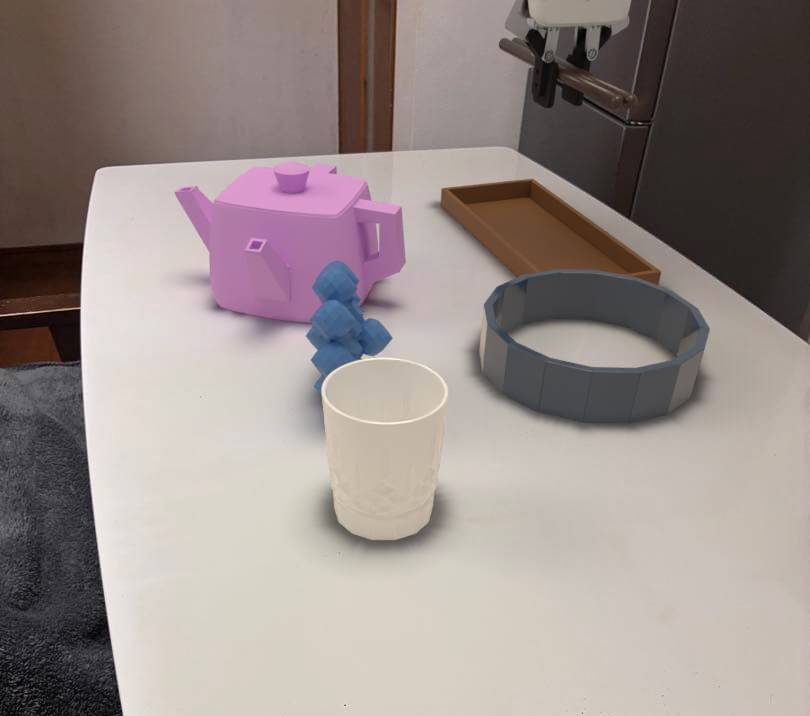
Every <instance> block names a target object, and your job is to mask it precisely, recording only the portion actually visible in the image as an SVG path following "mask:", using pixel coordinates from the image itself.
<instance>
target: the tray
mask: <svg viewBox="0 0 810 716" xmlns="http://www.w3.org/2000/svg"><path fill="white" fill-rule="evenodd" d="M440 189H441V191H440V207H441V208H442V209H443V210H444V211H445V212H446V213H447V214H448V215H449V216H451V218H453V219H454V220H455V221H456V222H457V223H458V224H460V225H461V227H463V228H464V229H465V230H466V231H467V232H468V233H469V234H470V235H471V236H472V237H473V238H474V239H475V240H477V241H478V242H479V243H480V244H481V245H482V246H483V247H484V248H485V249H487V250H488V251H489V252H490V253H491V254H492V255H493V256H494V257H495V258H496V259H497V260H498V261H499V262H500V263H502V264H503V266H505V267H506V268H507V269H508V270H509V271H510V272H511V273H512V274H513V275H514V276H515V277H516V278H517V277H519V276H521V275H526V274H532V273H538V272H544V271H550V270H558V269H569V270H599V271H604V272H610V273H615V274H621V275H626V276H631V277H636V278H639V279H642V280H645V281H647V282H650V283H653V284H656V285H658V286H660V285H659V284H660V281H661V280H660V279H661V275H662V271H661V270H660V269H659V268H657V267H656V266H655V265H653V264H652V263H650V262H649V261H647V260H646V259H645V258H644V257H642V256H641V255H640V254H638V253H637V252H635V251H634V250H632V249H631V248H630V247H629V246H627V245H626V244H624V243H623V242H621V241H620V240H619V239H618V238H616V237H615V236H613V235H611V234H610V233H609V232H608V231H606V230H605V229H604V228H602V227H601V226H599V225H598V224H596V223H595V222H594V221H592V220H591V219H590V218H588V217H587V216H585V215H584V214H583V213H581V212H580V211H579V210H577V208H574V207H573V206H572V205H570V204H569V203H567V202H566V201H565V200H564V199H562V198H561V197H559V196H558V195H556V194H555V193H553V192H552V191H551V190H550V189H548V188H547V187H545V186H544V185H543V184H541V182H538V181H537V180H535V179H534V178H523V179H516V180H507V181H497V182H487V183H478V184H467V185H459V186H450V187H441V188H440Z"/></svg>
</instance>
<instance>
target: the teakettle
mask: <svg viewBox="0 0 810 716" xmlns="http://www.w3.org/2000/svg"><path fill="white" fill-rule="evenodd" d="M337 170H338V169H337V165H329V164H321V163H314V164H313V165H312V166H308V165H307V164H304V163H301V162H295V161H287V162H282V163H279V164H276V165H275V166H273V167H270V166H254V167H253V166H252V167H251V168H249V169H248V170H246V171H244V172H243V173H242V174H241V175H239V176H238V177H237V178H235V179H234V180H233V181H232V182H231V183H230V184H228V186H226V187H225V188H224V189H223V190H222V191H221V192H220V193H219V194H218V195H217V196H216V197H215V198H214V199H213V201H211V199H209V197H207V196H206V195H205V194H204V193H203V192H202V191H201V190H200V189H199V186H198V185H191V186H181V187H180V188H178V189H177V190H175V191H174V195H175V197H176V199H177V201H178V203H179V204H180V205H181V207H182V209H183V211H184V212H185V214H186V216H187V218H188V219H189V221H190V223H191V224H192V226H193V228H194V229H195V231H196V232H197V234H198V236H199V237H200V239H201V241H202V243H203V244H204V246H205V248H206V249H207V251H208V254H209V255H208V257H209V259H208V260H209V278H210V286H211V291H212V294H213V297H214V298H215V301H216V303H217V305H218V307H220V308H221V309H225V310H227V311H232V312H235V313H240V314H244V315H245V314H246V315H250V316H255V317H261V318H266V319H271V320H272V319H273V320H279V321H286V322H295V323H303V324H304V323H305V324H312V322H311V321H310V318H311V317H312V316H313V314H314V313H315V312H316V311H317V309H318V308H319V307H320V306H321V305H322V303H321V301H320V300H319V297H318V296H317V294H316V293H315V292H314V290H313V289H312V286H313V285H314V283H315V282H316V278H317V277H318V276H319V274H320V273H321V272H322V271H323V269H324V268H325V267H326V266H327V265H328V264H329V263H331V262H334V261H341V262H343V263H345V264H346V265H347V266H348V267H349V268H350V269H351V270H352V272H353V273H354V274H355V275H356V277H357V278H358V280H359V281H360V282H359V283H358V284H357V286H356V287H357V288H358V289H357V291H356V294H357V295H358V297H359V298H360V299H361V300H360V302H359V303H358V305H359V306H360V307H361V306H362V305H363V303H364V302H365V300H366V299H367V297H368V296H369V294H370V292H371V291H372V289H373V286H374V284H375V283H376V282H378V281H381V280H384V279H386V278H388V277H392V276H393V275H395V274H397V273H400V272H401V270H402V269H403V268H404V266H405V265H406V263H407V262H406V261H407V260H406V259H407V258H406V248H405V234H404V233H405V232H404V218H403V206H402V205H399V204H394V203H393V204H392V203H387V202H381V201H375V200H372V196H371V192H370V187H369V183H368V181H367V180H365V179H363V178H359V177H355V176H349V175H344V174H338V171H337ZM377 224H378V225H379V226H378V227H379V229H377ZM378 235H379V236H378Z"/></svg>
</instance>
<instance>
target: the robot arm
mask: <svg viewBox="0 0 810 716" xmlns="http://www.w3.org/2000/svg"><path fill="white" fill-rule="evenodd" d="M631 3H632V0H515V1H514V3H513V5H512V7H511V9H510V12H509V14H508V16H507V18H506V20H505V23H504V28H505V30H506V31H507V32H510V33H511V34H513V35H515V36H516V37H518V38H520V39H522V40H523V41H524V42H525V43H526V45H527V46H528V48H529V49H530V51H531V54H532V55H533V56H534V57H535V65H534V67H533V75H532V83H531V94H532V100H533V102H534V103H536V104H538V105H540V106H541V107H543V108H544V109H552V107H554V105H555V98H556V90H557V85H558V80H557V73H558V69H559V65H558V63H556V62H554V59H555V56H556V53H557V47H558V42H559V37H560V31H561V28H572V27H573V28H574V35H573V45H572V53H568V54H567V57H566V59H565V61H567V62H569V63H571V64H573V65H575V66H577V67H579V68H581V69H583V70H585V71H587V72H589V73H590V69H591V62H592V61H594V60H596V58H597V57H598V55H599V51H600V50H601V48H602V47H603V46H604V45H605V44H606V43H607V42H608V41H609V40H610V39H611V37H613V36H615V35H616V34H619V33H620V32H621V31H623V30H625V29H626V28H628V26H629V24H630V16H629V12H630V8H631ZM528 19H531V20H533V19H534V21H535V23H534V27H533V26H531V25H530V24H529V23H528ZM561 88H562V89H561V94H560V95H561V96H560V97H561V98H562V99H563V100H564V101H565V102H567V103H569V104H571V105H573V106H575V107H581V106H583V102H584V96H585V94H583V93H581V92H580V91H578V90H576V89H574V88H572V87H570V86H568V85H566V84H564V83H563V82H562V87H561Z"/></svg>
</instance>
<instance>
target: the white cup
mask: <svg viewBox="0 0 810 716" xmlns="http://www.w3.org/2000/svg"><path fill="white" fill-rule="evenodd" d="M361 359H362V360H357V361H353V362H350V363H347V364H345V365H343V366H341V367H339V368H337V369H335V370H334V371H332V372H331V373H330V374H329V375H328V376H327V377H326V379H325V380H324V382H323V384H322V389H321V392H322V396H321V400H322V401H321V402H322V410H323V422H324V423H323V424H324V432H325V434H324V435H325V444H326V445H325V446H326V456H327V464H328V472H329V481H330V486H331V489H332V496H333V497H332V498H333V507H334V513H335V516H336V519H337V521H338V523H339V524H340V525H341V526H342V527H344V529H346V530H347V531H348V532H349V533H350V534H352V535H356V536H358V537H361V538H365V539H367V540H370V541H397V540H400V539H404V538H407V537H410V536H413V535H416V534H417V533H419V532H420V531H421V530H422V529H424V527H425V526H426V525H428V524H429V522H430V519H431V515H432V512H433V509H434V498H435V491H436V490H437V485H438V481H439V480H438V479H439V473H440V467H441V459H442V453H443V442H444V434H445V425H446V417H447V410H448V409H447V408H448V401H449V391H450V390H449V386H448V384H447V382H446V380H445V378H444V377H442V376H441V374H439V373H438V372H437V371H435V370H434V369H433V368H431V367H430V366H428V365H424V364H422V363H419V362H416V361H414V360H410V359H405V358H397V357H383V356H381V357H369V358H361Z"/></svg>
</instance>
